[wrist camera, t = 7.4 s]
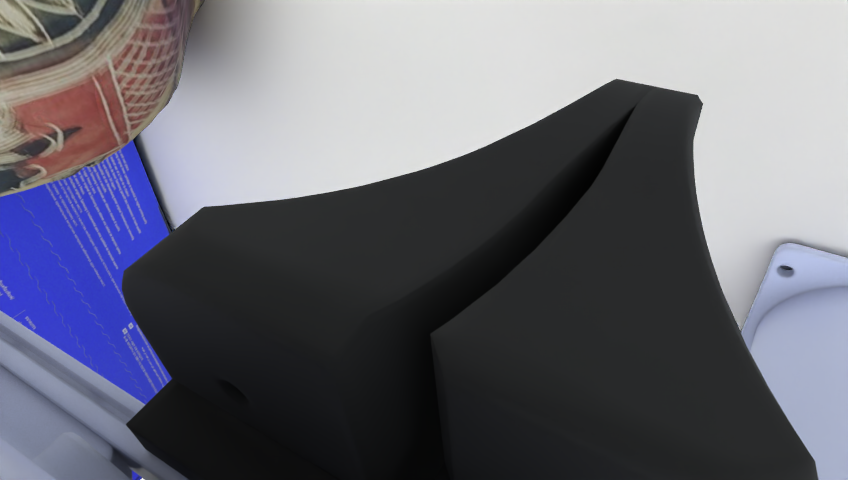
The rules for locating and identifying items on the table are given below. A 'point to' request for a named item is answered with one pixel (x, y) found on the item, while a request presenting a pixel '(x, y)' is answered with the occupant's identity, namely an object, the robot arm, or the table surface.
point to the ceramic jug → (82, 80)
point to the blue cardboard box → (85, 267)
